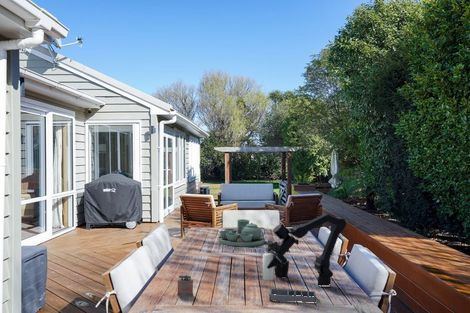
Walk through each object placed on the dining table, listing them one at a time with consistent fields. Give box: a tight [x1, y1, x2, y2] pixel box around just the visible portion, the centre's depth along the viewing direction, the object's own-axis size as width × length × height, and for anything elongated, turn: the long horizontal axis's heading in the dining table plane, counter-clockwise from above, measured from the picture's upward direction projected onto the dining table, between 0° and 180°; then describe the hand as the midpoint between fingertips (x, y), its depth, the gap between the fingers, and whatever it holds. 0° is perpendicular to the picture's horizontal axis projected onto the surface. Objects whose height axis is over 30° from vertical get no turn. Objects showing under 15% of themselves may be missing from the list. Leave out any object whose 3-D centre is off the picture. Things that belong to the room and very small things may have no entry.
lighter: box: [176, 274, 194, 297], centre depth 199 cm, size 8×3×10 cm, turn 92°
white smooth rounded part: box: [261, 252, 275, 281], centre depth 209 cm, size 6×6×13 cm
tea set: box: [217, 218, 266, 248], centre depth 332 cm, size 40×40×16 cm
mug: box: [274, 258, 290, 279], centre depth 232 cm, size 12×9×10 cm
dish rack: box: [268, 288, 317, 303], centre depth 196 cm, size 23×10×4 cm, turn 82°
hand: (265, 266), depth 209 cm, fingers closed on white smooth rounded part, 6 cm apart
